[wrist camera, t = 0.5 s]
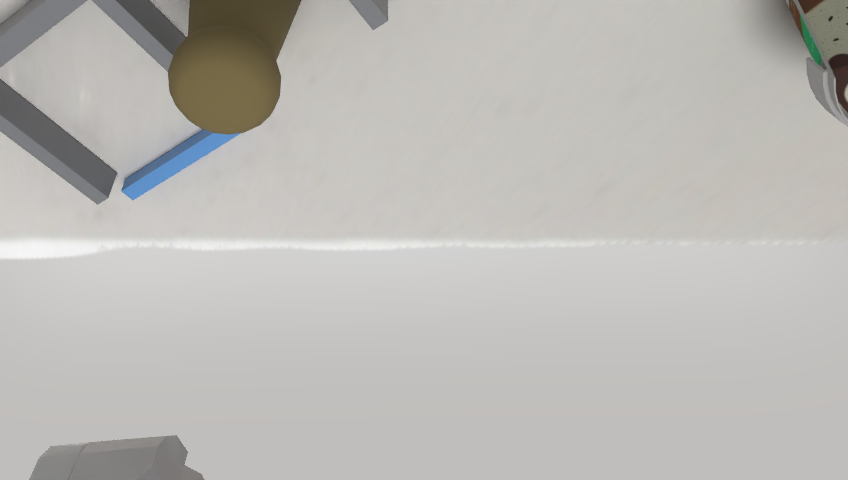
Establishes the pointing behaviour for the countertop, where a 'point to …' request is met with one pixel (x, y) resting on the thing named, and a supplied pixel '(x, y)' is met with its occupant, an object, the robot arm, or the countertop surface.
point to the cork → (230, 63)
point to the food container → (825, 50)
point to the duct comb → (62, 151)
